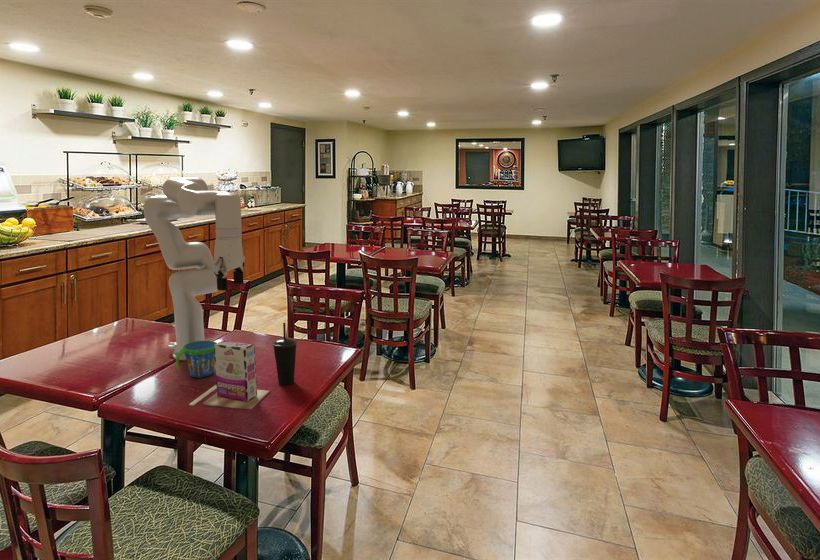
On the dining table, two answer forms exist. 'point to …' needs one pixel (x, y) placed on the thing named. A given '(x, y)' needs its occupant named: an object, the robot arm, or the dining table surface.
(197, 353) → the snack cup
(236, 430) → the dining table surface
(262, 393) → the board
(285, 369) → the drinking cup
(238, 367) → the candy bar box
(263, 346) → the dining table surface
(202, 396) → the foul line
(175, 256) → the robot arm
